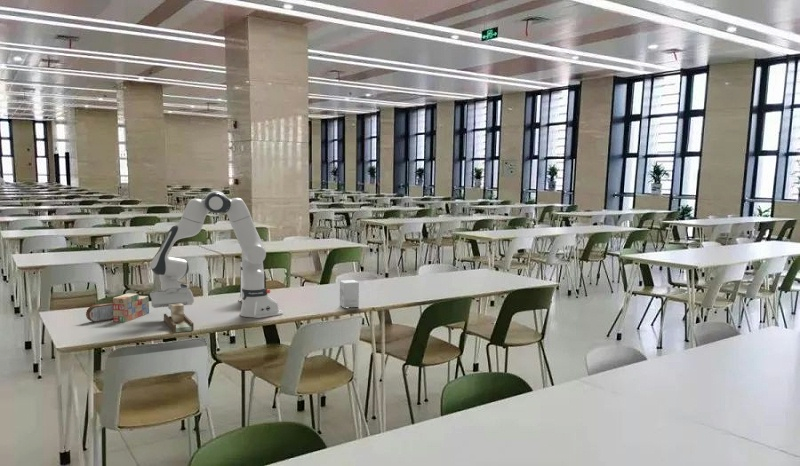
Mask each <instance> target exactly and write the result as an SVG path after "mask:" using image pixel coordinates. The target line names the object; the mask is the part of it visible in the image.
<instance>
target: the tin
mask: <svg viewBox="0 0 800 466" xmlns="http://www.w3.org/2000/svg"><path fill="white" fill-rule="evenodd" d="M85 316H86V319H87V320H88V321H90V322H93V323H97V322H102V321H109V320H110V321H111V320H113V302H107V303H100V304H99V303H98V304H92V305H90V306H89V307H88V308H87V310H86V312H85Z"/></svg>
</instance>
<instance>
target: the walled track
mask: <svg viewBox="0 0 800 466" xmlns="http://www.w3.org/2000/svg"><path fill="white" fill-rule="evenodd" d="M163 321H164V323H165V324H166V325H167V327H168V328H169V329H170V330H171V331H172V332H173V333H180V332H190V331H194V330H195V327H194V324H195V323H194V322H193V321H192V319H191V320H190V318H189V317H188V316H187V315H186V314H185V313H184V321H181V322H173V321H172V320H171V315H170V316H168V314H167V313H163Z"/></svg>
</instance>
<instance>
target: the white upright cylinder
mask: <svg viewBox="0 0 800 466" xmlns="http://www.w3.org/2000/svg"><path fill="white" fill-rule="evenodd" d="M239 262H240V272H239V273H240V276H239V277H240V279H239V281H240V289H239V291H240V293H239V294H240V295H239V298H240V299H241V300H240V299H238V300H237V301H238V302H239V301H240V302H242V300H243V299H242V288H243V269H242V257H240V259H239ZM266 281H267V277H266V271H265V270H264V288H266V289H267V282H266Z"/></svg>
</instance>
